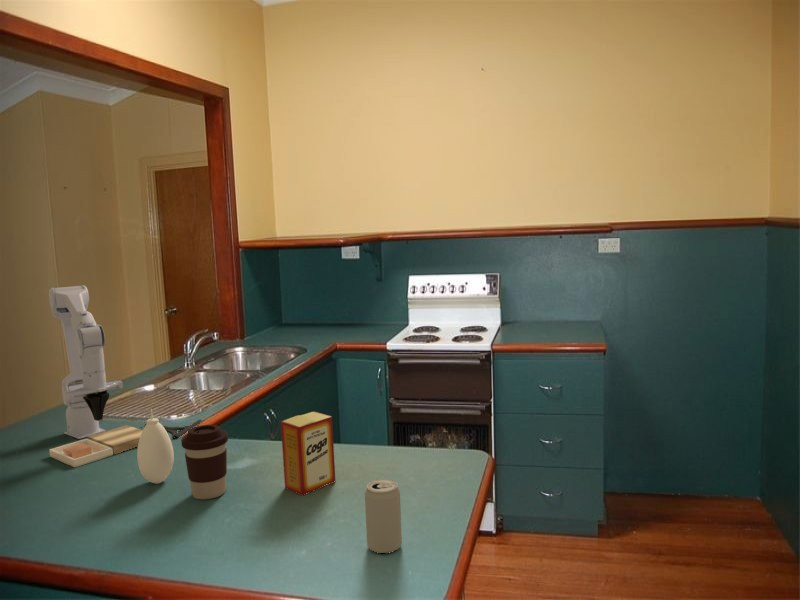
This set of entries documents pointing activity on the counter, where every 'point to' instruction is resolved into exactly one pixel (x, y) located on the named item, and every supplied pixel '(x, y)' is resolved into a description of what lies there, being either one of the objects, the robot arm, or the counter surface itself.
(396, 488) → the beverage can
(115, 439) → the large beige panel
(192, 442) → the coffee cup
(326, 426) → the baking soda box
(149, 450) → the rubber air blower
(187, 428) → the bracket
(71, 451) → the tile
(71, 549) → the counter surface
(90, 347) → the robot arm
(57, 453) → the tray
